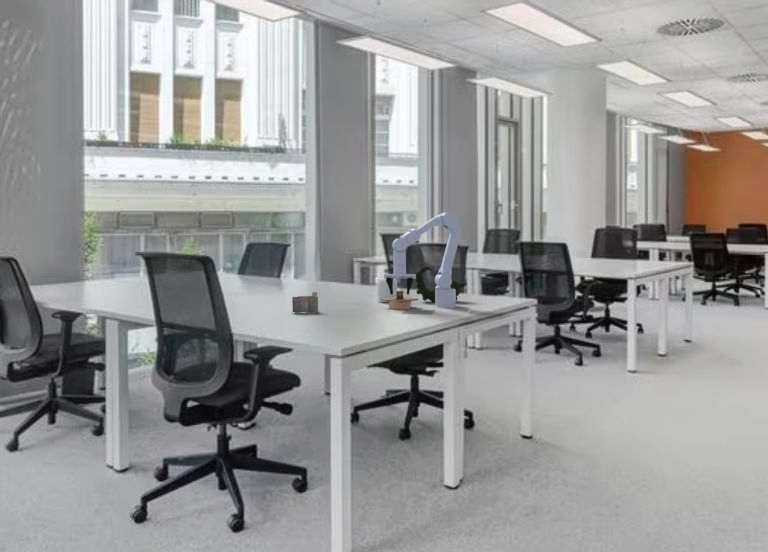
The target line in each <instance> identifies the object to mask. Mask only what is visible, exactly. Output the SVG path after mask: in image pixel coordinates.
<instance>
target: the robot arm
mask: <svg viewBox="0 0 768 552" xmlns="http://www.w3.org/2000/svg"><path fill="white" fill-rule="evenodd" d="M436 226H437V227H439V226H442V227H444V229H446V231H447V232H448V234H449V235H448V239H447V242H446V246H445V250H444V254H443V258H442V261H441V266H440V267H439V269H438V272H437V274H436V275H435V277H434V284H435V285H436V286H435V288H434V289H435V302H434V303H435V305H434V306H433V308H438V309H439V308H440V309H441V308H443V309H444V308H446V309H447V308H449V309H454V308H455V307H456V306H457V301H456V290H455V289H451V287H450V286H451V283H452V280H451V279H452V274H453V273H452V272H453V270H452V268H453V264H454V261H455V257H456V254H457V249H458V246H459V242H460V238H461V234H462V230H461V228H460V224H459V218H458V217H457V216H456V214H454V212H451V211H448V212H447V211H443V212H442V213H440V214H437V215H435V216H434V217H433V218H430V219H429V220H428V221H426V222H425V223H424V224H423V225H421V226H420V227H418V228H417V229H416V228H409V229H408V230H407V232H406V233H404V234H402V235H400V236H399V238H395V239H394V240H393V241H392V244H391V247H392V249H393V255H392V256H393V257H392V258H393V262H392V263H393V264H392V265H393V269H392V270H393V272H392V273H384V274H383V278H384V279H386V282H387V284H388V286H389V289H390V294H393V279H396V280H397V279H398V280H399V279H400V280H401V279H403V280H406V295H407V296H409V295H410V292H411V288H412V284H413V282H414V280H415V279H416V274H415V273H413V274H411V273H407V260H406V259H407V256H406V255H407V254H406V250H407V248H408V247H409V246H411V245H413V244H415V243H416V242H418V241H419V240H421V236H422V235H423V234H425V233H426V232H428V231H430V230H431V229H433V228H434V227H436Z"/></svg>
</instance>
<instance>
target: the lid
mask: <svg viewBox="0 0 768 552" xmlns="http://www.w3.org/2000/svg"><path fill="white" fill-rule="evenodd" d="M381 300H382V301H390V302H398V303H402V302H409V301H411V302H414V301H415V302H416V301H419V298H414V297H406V296H404V290H397V291H396V297H394V298H386V299H381Z"/></svg>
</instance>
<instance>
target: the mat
mask: <svg viewBox="0 0 768 552" xmlns="http://www.w3.org/2000/svg"><path fill="white" fill-rule="evenodd" d="M436 310H437V309H411V308H409V309H405V310H404V311H403V312H402V313H401V315H433V314H434V313H435V312H436Z"/></svg>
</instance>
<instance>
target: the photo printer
mask: <svg viewBox="0 0 768 552" xmlns="http://www.w3.org/2000/svg"><path fill="white" fill-rule="evenodd" d="M396 291H398V280H397V279H393V294H390V289H389V286H388V284H387V282H386V279H384V277H382V278H379V279H378V281H377V302H378V303H380V304H381V303H389V301H382V300H381V299H386V298H394V297H396Z"/></svg>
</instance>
